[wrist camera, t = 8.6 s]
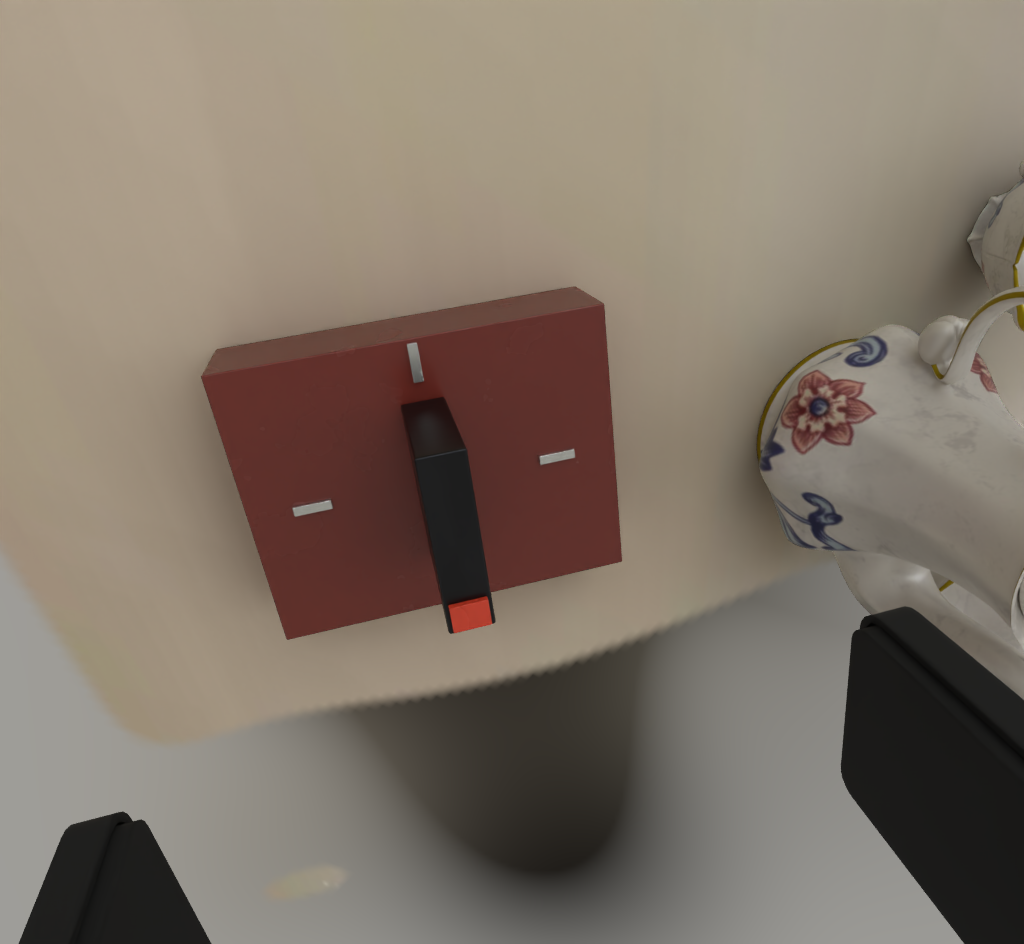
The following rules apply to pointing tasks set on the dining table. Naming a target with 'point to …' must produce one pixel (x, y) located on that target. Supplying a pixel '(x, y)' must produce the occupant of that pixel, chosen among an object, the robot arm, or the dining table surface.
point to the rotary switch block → (387, 461)
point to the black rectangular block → (449, 513)
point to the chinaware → (916, 462)
